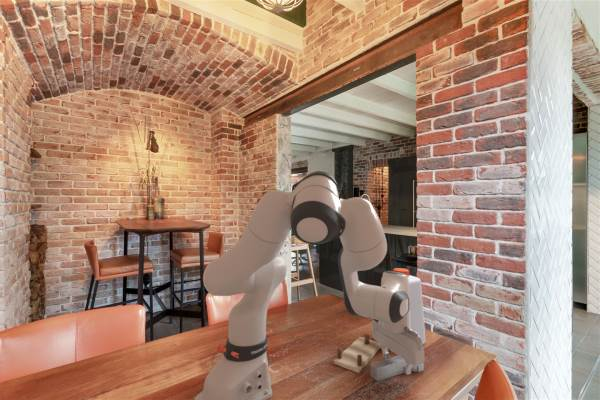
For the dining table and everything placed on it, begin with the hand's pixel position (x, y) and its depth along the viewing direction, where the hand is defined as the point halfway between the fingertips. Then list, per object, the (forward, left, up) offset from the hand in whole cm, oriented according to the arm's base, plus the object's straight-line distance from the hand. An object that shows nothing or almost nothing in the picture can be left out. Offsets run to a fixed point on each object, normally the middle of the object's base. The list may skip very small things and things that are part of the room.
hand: (396, 365), depth 92 cm
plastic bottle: (+23, +5, -3) cm, 24 cm away
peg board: (+4, +14, -3) cm, 15 cm away
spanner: (+2, 0, -2) cm, 3 cm away
